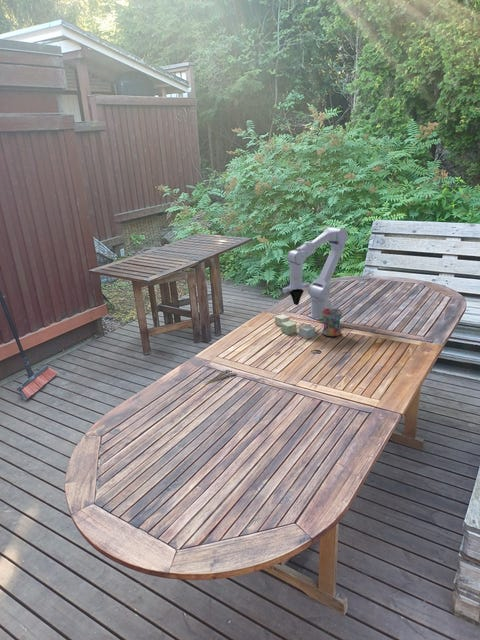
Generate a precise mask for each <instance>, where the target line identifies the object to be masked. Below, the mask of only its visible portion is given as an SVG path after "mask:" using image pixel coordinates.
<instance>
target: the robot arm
mask: <svg viewBox="0 0 480 640" xmlns="http://www.w3.org/2000/svg"><path fill="white" fill-rule="evenodd" d="M348 239H349V234H348V231H347V229H345V228H340V227H334V226H328V227H327V228H324V229H323V232H322V233H321V234H319V235H318V236H316V238H314V239H313V240H312V241H305V242H304V243H303V244H302V245H301V246H298V247H297V248H296V249H293V250H290V251H289V252H288V253H287V256H286V259H287V262H288V265H289V285H286V287H282V293H283V294H287V293H289V294H290V297H291V299H292V303H293V304H294V306H298V305H300V302H301V301H300V300H301V297H302V296H303V294H304V292H305V291H304V289H306V288H308V290H307V294H308V296H309V297H310V299H311V300H310V305H311V306H310V311H311V312H310V313H309V314H307V317H310V318H312V319H314V320H317V321H319V320H324V318H323V315H322V313H321V311H322V310H324V309H328V308H332V301H331V298H330V295H331V289H332V286H331V284H330V281H331V280H332V276H333V274H334V272H335V270H336V268H337V266H338V263H339V262H340V258H341V257H342V255H343V253H344V250H345V246H346V243H347V241H348ZM326 242H327V243H328V244H329V246H330V248H331V249H330V251H329V254H328V256H327V258H326V261H325V263H324V265H323V267H322V270H321V272H320V274H319V276H318V278H316V279H314V280H313V281H312V284H310V282H303V264H304V263H305V260H306V259H307V258H308V257H309V256H311V255H312V254H313V253H315V251H316V249H317V248H318V247H320V246H321V245H323V244H325V243H326Z"/></svg>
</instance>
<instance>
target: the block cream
mask: <svg viewBox="0 0 480 640" xmlns="http://www.w3.org/2000/svg"><path fill="white" fill-rule="evenodd" d="M287 321H291V316H289V315H286V314H284V313H282V314H279V315H275V316H274V324H275V325H277V326H279V327H281V323H284V322H287Z"/></svg>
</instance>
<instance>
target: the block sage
mask: <svg viewBox="0 0 480 640" xmlns="http://www.w3.org/2000/svg"><path fill="white" fill-rule="evenodd" d="M280 332H283V333H284V334H286V335H291V334H294V333H297V323H295V322H293V321H291V320H290V321H287V322H284V323H281V326H280Z"/></svg>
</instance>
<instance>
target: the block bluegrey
mask: <svg viewBox="0 0 480 640" xmlns="http://www.w3.org/2000/svg"><path fill="white" fill-rule="evenodd" d="M298 336H300V337H302V338H304V339H306V340H307V339H310V338H314V337H316V327H314V326H311V325H309V324H305V325H302V326H299V327H298Z"/></svg>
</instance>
